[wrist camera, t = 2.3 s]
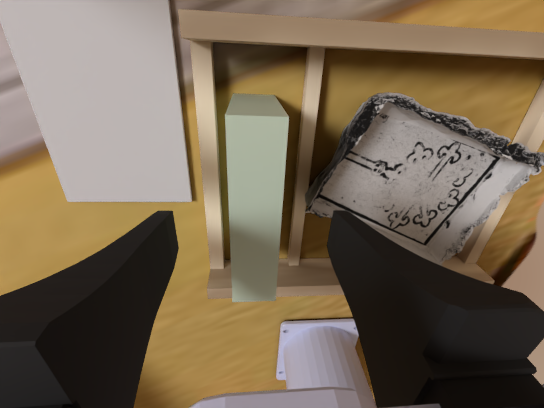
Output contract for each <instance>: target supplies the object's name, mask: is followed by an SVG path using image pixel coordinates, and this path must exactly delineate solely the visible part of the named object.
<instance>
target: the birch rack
mask: <svg viewBox="0 0 544 408" xmlns="http://www.w3.org/2000/svg"><path fill="white" fill-rule="evenodd" d="M178 13H179V23H180V33H181V38H184V39H188V40H190V46H191V57H192V68H193V80H194V91H195V102H196V113H197V124H198V135H199V146H200V157H201V168H202V179H203V191H204V202H205V213H206V224H207V235H208V246H209V257H210V268H211V269H210V275H209V281H208V286H207V293H208V299H219V298H232V277H231V260H225V256H224V237H223V219H222V201H221V183H220V164H219V146H218V128H217V109H216V91H215V73H214V54H213V42H221V43H239V44H257V45H276V46H294V47H307V57H306V68H305V79H304V89H303V100H302V110H301V121H300V132H299V142H298V153H297V163H296V174H295V185H294V195H293V206H292V216H291V227H290V238H289V248H288V259H279V261H278V275H277V289H276V297H283V296H316V295H344V293H343V290H342V288H341V286H340V283H339V281H338V279H337V276H336V274H335V271H334V269H333V266H332V264H331V260H330V258H307V259H300V251H301V243H302V234H303V226H304V218H305V210H306V202H305V193H306V192H307V191H308V186H309V177H310V169H311V161H312V153H313V145H314V137H315V129H316V120H317V112H318V104H319V96H320V88H321V80H322V72H323V63H324V55H325V48H330V49H349V50H367V51H385V52H403V53H422V54H440V55H458V56H476V57H495V58H513V59H531V60H544V33H539V32H523V31H508V30H493V29H477V28H462V27H447V26H431V25H416V24H400V23H385V22H370V21H354V20H339V19H324V18H308V17H293V16H278V15H262V14H247V13H231V12H216V11H201V10H185V9H178ZM543 139H544V79H543V81H542V83H541V85H540V87H539V89H538V91H537V93H536V95H535V97H534V99H533V101H532V103H531V105H530V107H529V109H528V111H527V114H526V116H525V118H524V120H523V122H522V124H521V126H520V128H519V130H518V132H517V134H516V136H515V138H514V140H513V142H512V144H514V143H517V142H520V143H522V144H523V145H524V146H527V147H528V149H529V150H530V151H531V152H537V150H538V148H539V147H540V145H541V143H542V141H543ZM517 163H518V162H517ZM517 163H516V164H517ZM514 192H515V191H514ZM514 192H507V193H506V194H505V195H500V202H499V205H498V207H497V209H495V210H494V211H493V212H492V214H491V215H490V216H489V218H488V219H487V220H486V221H485V222H484V223H482V224H480V225H479V226H476V227H475V228H474V229H473V232H472V234H471V236H470V237H469V238H468V240H467V241H466V242H465V245H464V247H463V249H462V251H461V252H460V253H458V254H457V256H451V259H449V260H445V261H444V262H443V263H442V265H443V267H445V268H448V269H450V270H453V271H455V272H458V273H461V274H463V275H466V276H469V277H472V278H475V279H477V280H480V281H483V282H486V283H490V284H493V283H494V282H495V281H494V280H493V279H492V278H491V277H490V276H489V275H488V274H487V273H486V272H485V271H484V270H482V269H481V268H480V267H479V266H478V265H477V264H476V262H477V260H478V258H479V256H480V255H481V253H482V251H483V249H484V247H485V246H486V244H487V242H488V240H489V238H490V236H491V235H492V233H493V231H494V229H495V227H496V225H497V224H498V222H499V220H500V218H501V216H502V214H503V213H504V211H505V209H506V207H507V205H508V203H509V202H510V200H511V198H512V196H513V194H514Z"/></svg>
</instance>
